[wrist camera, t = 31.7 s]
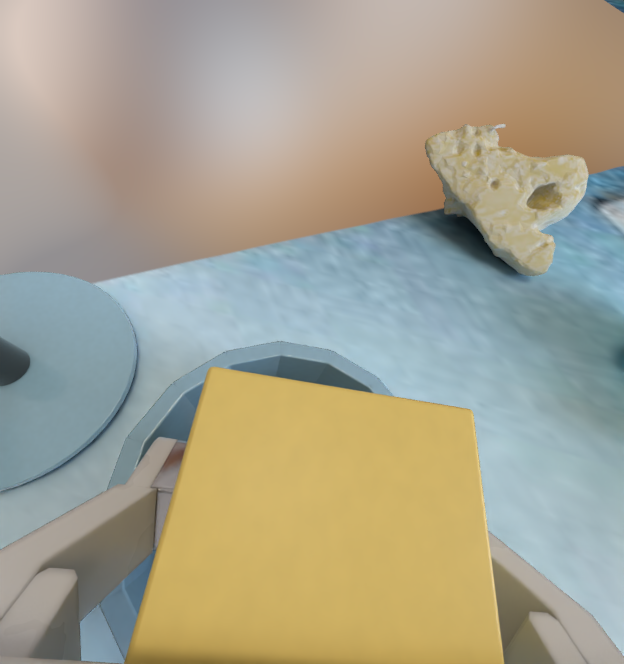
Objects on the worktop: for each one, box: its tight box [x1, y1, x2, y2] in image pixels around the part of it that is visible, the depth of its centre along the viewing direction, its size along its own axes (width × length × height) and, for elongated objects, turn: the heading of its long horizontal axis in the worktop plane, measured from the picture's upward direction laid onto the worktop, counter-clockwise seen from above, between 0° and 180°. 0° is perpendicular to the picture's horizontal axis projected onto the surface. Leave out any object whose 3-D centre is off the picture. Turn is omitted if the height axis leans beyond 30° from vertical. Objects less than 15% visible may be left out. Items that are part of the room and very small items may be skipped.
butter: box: [124, 367, 504, 664], centre depth 9 cm, size 4×5×10 cm
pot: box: [100, 341, 393, 660], centre depth 16 cm, size 14×14×8 cm
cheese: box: [425, 124, 588, 276], centre depth 33 cm, size 15×7×15 cm
